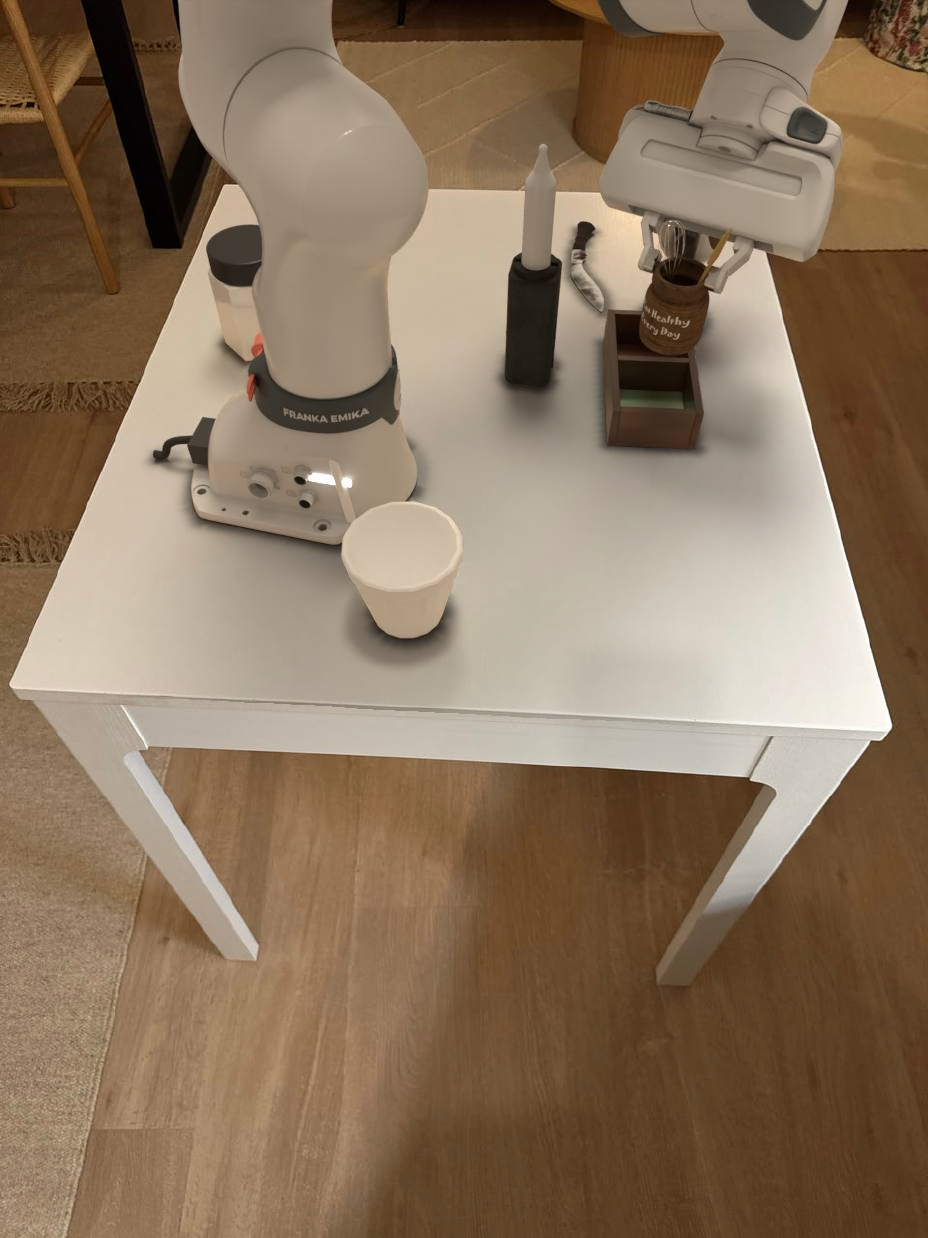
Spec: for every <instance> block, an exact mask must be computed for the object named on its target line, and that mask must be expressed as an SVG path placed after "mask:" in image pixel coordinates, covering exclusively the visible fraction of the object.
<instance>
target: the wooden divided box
mask: <svg viewBox="0 0 928 1238" xmlns="http://www.w3.org/2000/svg"><path fill="white" fill-rule="evenodd" d="M641 314H642V310H636V309H635V310H633V309H611V308H610V309H607V312H606V320H605V324H604V325H605V326H604V333H603V340H602V355H603V377H604V378H603V379H604V399H605V401H604V403H605V423H606V424H605V426H606V444H607V446H615V447H616V446H617V447H639V448H640V447H641V448H662V449H663V448H665V449H687V450H695V449H696V446H697V443H698V440H699V435H700V431H701V427H702V424H703V421H704V418H705V417H704V416H705V412H704V404H703V398H702V390H701V383H700V376H699V370H698V369H699V368H698V363H697V356H696V350H695V348H696V347H695V348H694V349H693V350H691V351H690V352H687V353H685V354H681V355H665V354H660V353H657V352H655V351H652V350H651V349H649V348H648V347H646V346H645V345H644V344H643V342H642V341H641V339H640V335H639V327H640V320H641Z"/></svg>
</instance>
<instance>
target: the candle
mask: <svg viewBox="0 0 928 1238" xmlns="http://www.w3.org/2000/svg"><path fill="white" fill-rule="evenodd" d="M537 149H538V155H537V158H536V161H535V164H534V166H533V169H532V171H531V172H530V173H529V174H528V176H527V177H526V178H525V182H524V183H525V185H524V201H523V203H524V205H523V221H522V222H523V224H522V241H521V242H522V243H521V252H519V253H518V254H516V255H515V256H514V257H513V258H512V261H511V265H510V268H509V271H508V274H507V295H506V297H507V298H506V299H507V301H506V302H507V303H506V304H507V305H506V325H505V326H506V328H505V354H504V376H503V377H504V380H505V382H506V383H508V384H510V385H517V386H523V387H530V388H531V387H533V388H544V387H547V386H548V385H549V384H550V381H551V373H552V372H551V369H552V368H554V362H555V361H554V360H555V351H556V350H555V349H556V347H555V346H556V339H557V338H556V337H557V327H558V315H559V305H560V304H559V303H560V293H561V284H562V283H561V282H562V273H563V262H562V260H561V259H560V258H558V257H557V256H556V255H555V254H553V253H552V247H553V234H554V233H553V232H554V220H555V209H556V208H555V207H556V194H557V179H556V178H555V176H554V174H553V172H552V171H551V168H550V163H549V159H548V158H549V157H548V153H547V152H548V150H549V148H548V146H547V144H546V143H541V144H540V145H539V146H538V148H537Z"/></svg>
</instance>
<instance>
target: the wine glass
mask: <svg viewBox="0 0 928 1238" xmlns="http://www.w3.org/2000/svg"><path fill="white" fill-rule="evenodd" d="M663 224H664V225H663V226H662V227H663V228H662V229H661V232H659V233H661V249H660V250H661V252H662V254H663V255H664V257H665V258H666V259H668V258H673V257H674V254H675V257H676V255H677V257H685V258H691V259H694V260H697V261H699V262H701V263H703V264H704V265H705V264H707V262H708V260H709V258H710V256H711V255H712V253H713V251H714V250H715V248H716V246H717V244H718V243H719V241H720V239H718V238H715V237H711V236H708V235H704V234H701V233H697V232H694V231H690V230H687V229H685V238H684V239H685V247H684V246H683V237H684V229H683V228H682V229H681V228H679V245H678V227H676V226H672V225H669V224H665V223H663ZM668 225H669V226H668ZM667 227H668V229H667ZM674 228H675V232H674ZM666 230H667V232H666ZM682 230H683V232H682ZM668 232H669V252H668ZM665 234H666V238H665ZM657 238H658V245H660V236H659V234H657ZM677 249H678V252H677ZM664 250H665V253H664ZM683 250H684V252H683ZM682 252H683V255H682Z"/></svg>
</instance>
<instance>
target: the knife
mask: <svg viewBox="0 0 928 1238" xmlns="http://www.w3.org/2000/svg"><path fill="white" fill-rule="evenodd" d="M576 229H577V233H576V236H575V238H574V243H573V246H572V250H571V259H570V278H571V280H572V281H573V283H574V285H575V286H576V287H577V289H578V290H579V292H580V293H581V295H582V296H583V297H584V298H585V299H586V300H587V301H588V302H589V303H590V304H591V305H592V306H593V307H594V308H595V309H596V310H598V311H599V312H601V313H603V311H604V308H605V299H604V295H603V292H602V291H601V289H600V287H599V286H598V285H597V283H596V281H594V280H593V278H592V277H591V276H590V275H589V274H588V273H587V271H586V270H585V269H584V267H583V262H584V261H585V260H586V259H587V256H588V254H586V252H587V251H586V242H587V238H588V237H589V236H590V235H591V234H592V233H593V232H594V231H596V227H595V225H594V224H593V223H591V222H589V221H585V220H582V221H579V222H578V223H577V227H576Z"/></svg>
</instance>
